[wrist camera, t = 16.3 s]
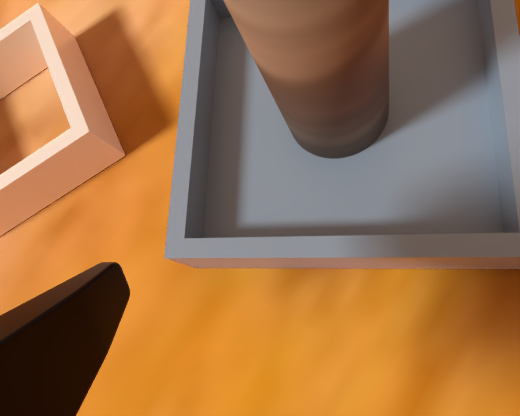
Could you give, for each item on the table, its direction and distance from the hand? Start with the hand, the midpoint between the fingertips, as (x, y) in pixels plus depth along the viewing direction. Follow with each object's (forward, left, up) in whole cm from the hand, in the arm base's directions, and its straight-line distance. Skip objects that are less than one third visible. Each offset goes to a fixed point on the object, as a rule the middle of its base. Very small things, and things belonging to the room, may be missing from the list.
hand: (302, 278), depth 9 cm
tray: (+8, 0, -9) cm, 12 cm away
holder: (+9, +18, -9) cm, 22 cm away
